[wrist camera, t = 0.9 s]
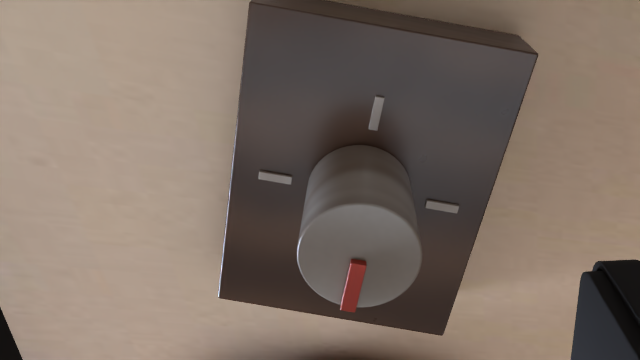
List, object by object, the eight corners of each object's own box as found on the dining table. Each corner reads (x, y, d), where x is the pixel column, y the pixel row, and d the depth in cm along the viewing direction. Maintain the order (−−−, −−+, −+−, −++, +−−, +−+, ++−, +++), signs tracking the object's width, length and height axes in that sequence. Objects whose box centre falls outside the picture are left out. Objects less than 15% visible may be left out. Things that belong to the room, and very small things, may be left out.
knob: (316, 135, 24) (305, 197, 19) (422, 154, 24) (437, 220, 19) (300, 226, 26) (287, 302, 21) (398, 243, 26) (407, 322, 21)
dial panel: (261, -12, 24) (248, 2, 22) (519, 35, 25) (540, 55, 22) (229, 262, 31) (217, 300, 28) (435, 297, 31) (443, 338, 28)
